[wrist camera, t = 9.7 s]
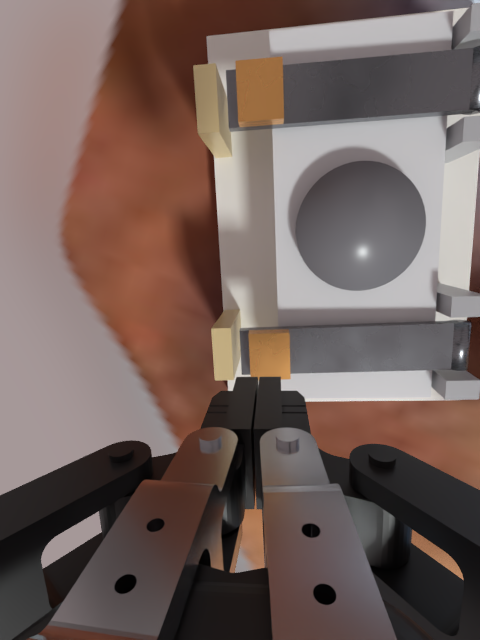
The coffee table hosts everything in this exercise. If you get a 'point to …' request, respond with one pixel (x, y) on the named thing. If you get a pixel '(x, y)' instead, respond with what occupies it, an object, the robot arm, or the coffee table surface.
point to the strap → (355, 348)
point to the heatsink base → (344, 208)
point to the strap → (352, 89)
